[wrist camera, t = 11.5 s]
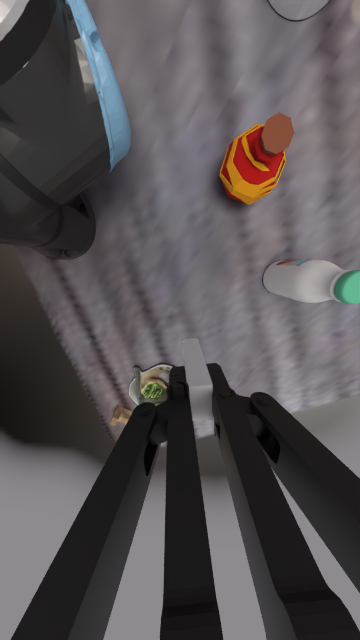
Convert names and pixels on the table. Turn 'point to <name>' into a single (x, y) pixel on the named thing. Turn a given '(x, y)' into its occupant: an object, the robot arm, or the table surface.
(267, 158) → the potion bottle
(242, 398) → the robot arm
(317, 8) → the utensil holder
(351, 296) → the milk bottle
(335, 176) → the table surface
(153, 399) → the salad plate
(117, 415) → the stop rail
